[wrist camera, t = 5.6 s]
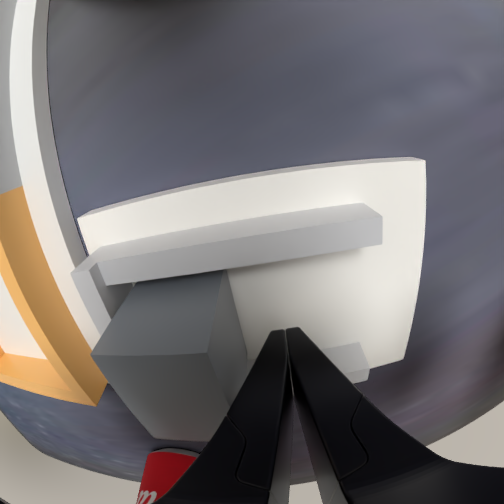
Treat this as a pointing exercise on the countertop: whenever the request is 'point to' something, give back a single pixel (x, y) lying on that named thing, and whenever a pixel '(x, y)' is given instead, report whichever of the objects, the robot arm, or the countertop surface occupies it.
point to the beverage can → (163, 472)
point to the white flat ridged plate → (279, 253)
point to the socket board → (38, 228)
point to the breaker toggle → (176, 354)
